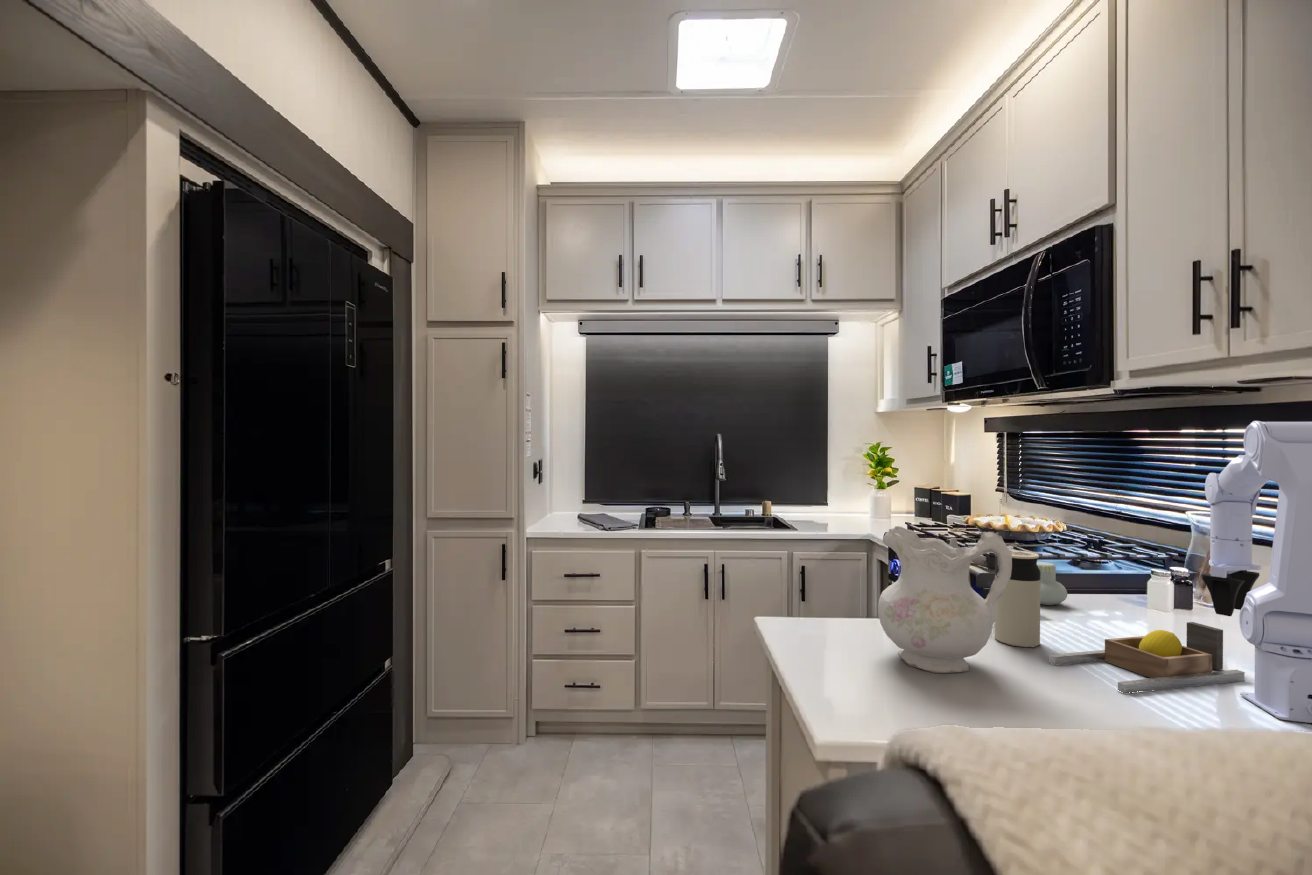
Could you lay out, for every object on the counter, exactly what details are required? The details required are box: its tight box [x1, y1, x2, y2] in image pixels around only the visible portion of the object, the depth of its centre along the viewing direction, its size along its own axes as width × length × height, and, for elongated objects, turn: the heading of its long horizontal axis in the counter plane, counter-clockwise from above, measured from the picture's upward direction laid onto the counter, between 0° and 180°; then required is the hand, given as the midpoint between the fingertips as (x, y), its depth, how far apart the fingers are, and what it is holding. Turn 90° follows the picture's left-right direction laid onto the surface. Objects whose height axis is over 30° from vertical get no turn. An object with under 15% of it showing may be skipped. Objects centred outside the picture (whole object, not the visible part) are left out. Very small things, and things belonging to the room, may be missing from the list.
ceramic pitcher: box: [877, 526, 1012, 674], centre depth 113 cm, size 22×20×25 cm
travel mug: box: [994, 549, 1041, 648], centre depth 125 cm, size 8×8×18 cm
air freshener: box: [1037, 560, 1068, 606], centre depth 156 cm, size 11×8×10 cm
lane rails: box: [1048, 649, 1246, 694], centre depth 109 cm, size 26×14×2 cm, turn 104°
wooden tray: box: [1104, 621, 1224, 679], centre depth 111 cm, size 18×11×7 cm, turn 104°
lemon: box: [1139, 629, 1183, 657], centre depth 110 cm, size 6×6×8 cm
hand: (1230, 611), depth 114 cm, fingers open, 7 cm apart
